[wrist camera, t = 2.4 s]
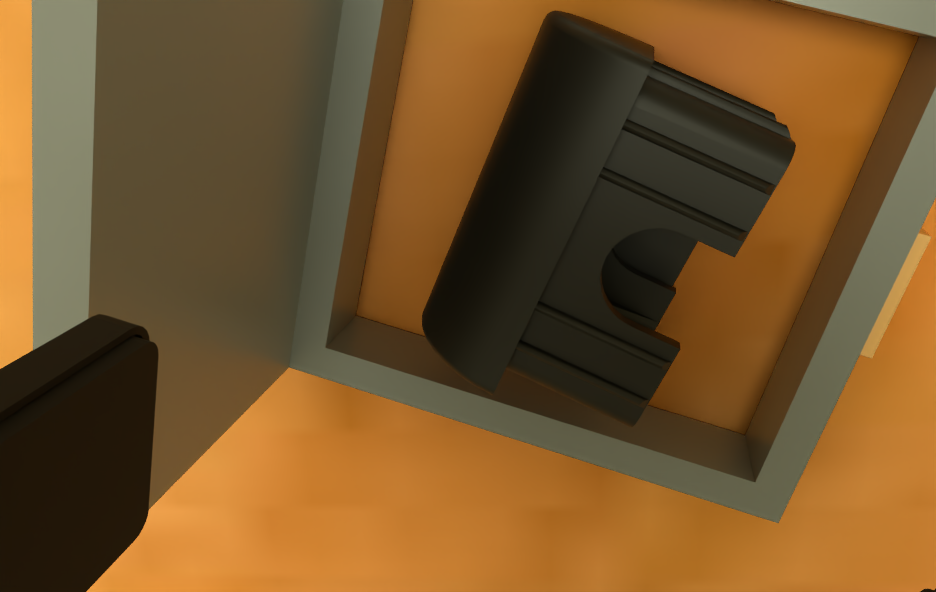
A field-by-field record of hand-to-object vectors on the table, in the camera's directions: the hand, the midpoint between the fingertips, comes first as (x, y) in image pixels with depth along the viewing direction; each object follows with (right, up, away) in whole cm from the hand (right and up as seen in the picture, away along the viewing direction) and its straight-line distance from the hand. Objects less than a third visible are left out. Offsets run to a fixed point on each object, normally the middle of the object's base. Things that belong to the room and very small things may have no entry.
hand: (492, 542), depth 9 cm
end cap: (+4, +6, +17) cm, 19 cm away
